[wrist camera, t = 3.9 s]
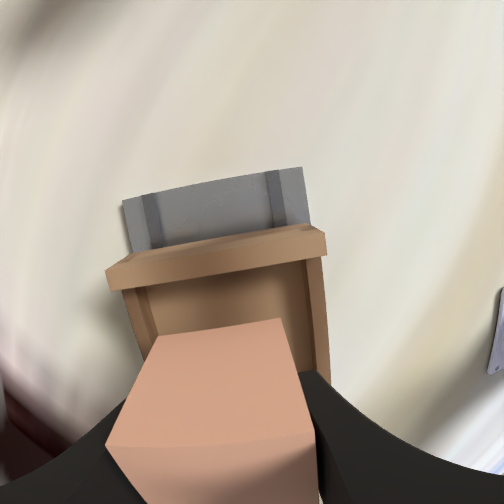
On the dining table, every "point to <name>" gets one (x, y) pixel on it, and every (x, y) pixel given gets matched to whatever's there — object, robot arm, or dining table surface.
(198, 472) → the block
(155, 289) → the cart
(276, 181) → the rail
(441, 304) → the dining table surface
